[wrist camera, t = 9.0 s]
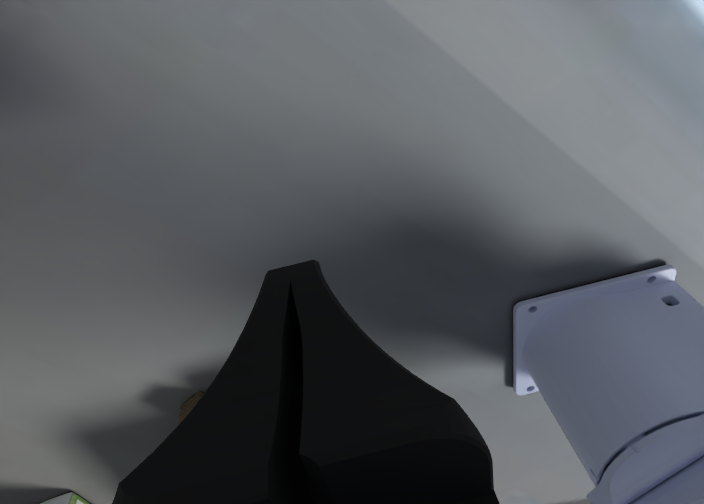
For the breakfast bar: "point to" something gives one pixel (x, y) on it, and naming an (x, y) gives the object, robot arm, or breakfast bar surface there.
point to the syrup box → (66, 499)
